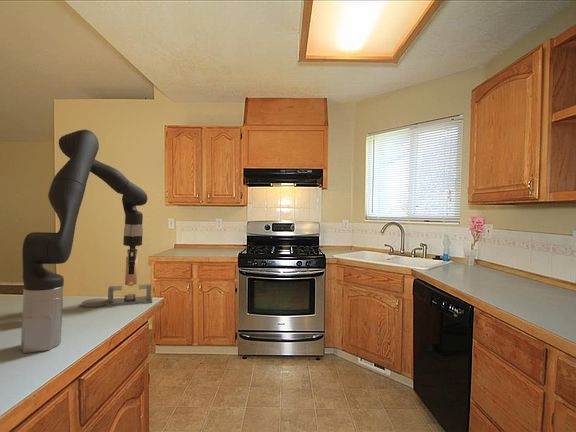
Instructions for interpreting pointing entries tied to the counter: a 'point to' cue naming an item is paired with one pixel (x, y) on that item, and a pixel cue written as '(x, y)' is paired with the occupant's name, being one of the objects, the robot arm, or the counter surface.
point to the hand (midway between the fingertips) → (131, 272)
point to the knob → (131, 278)
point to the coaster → (94, 303)
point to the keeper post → (128, 296)
